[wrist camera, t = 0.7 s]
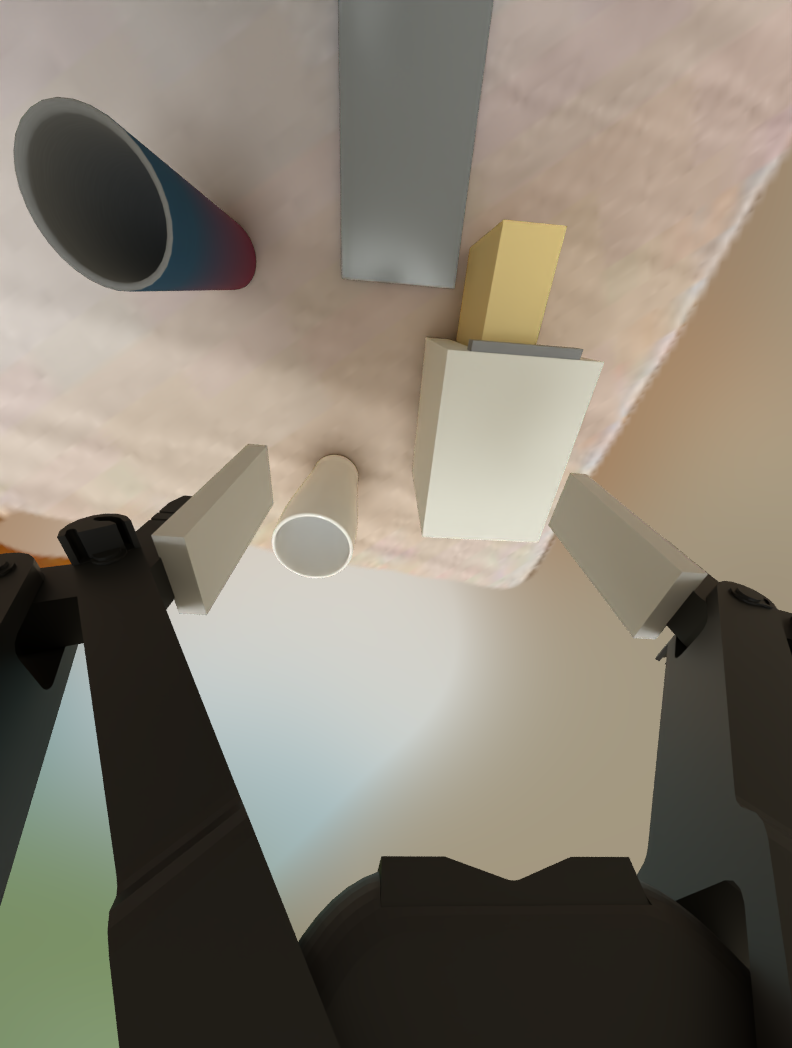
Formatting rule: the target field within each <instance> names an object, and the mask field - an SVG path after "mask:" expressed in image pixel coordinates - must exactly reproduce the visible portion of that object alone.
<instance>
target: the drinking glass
mask: <svg viewBox="0 0 792 1048" xmlns="http://www.w3.org/2000/svg"><path fill="white" fill-rule="evenodd" d="M357 485H358V472H357V469H356V467H355V465H354V464H353V463H352V462H351V461H350V460H349V459H347V458H345V457H343V456H340V455H328V456H325V457H323V458H322V459H320V460H319V461H318V462H317V463H316V465H315V467H314V469H313V470H312V472H311V473H310V475H309V476H308V477H307V478H306V480H305V481H304V482H303V484H302V485H301V486H300V488H299V489H298V490H297V491H296V493H295V494H294V495H293V497H292V498H291V499H290V501H289V502H288V504H287V505H286V507H285V509H284V510H283V512H282V514H281V516H280V518H279V520H278V522H277V525H276V527H275V530H274V532H273V535H272V549H273V552H274V554H275V556H276V558H277V559H278V561H279V562H280V563H281V564H282V565H283V566H284V567H285V568H287V569H288V570H290V571H291V572H293V573H295V574H297V575H300V576H303V577H308V578H325V577H330V576H333V575H335V574H337V573H339V572H341V571H342V570H343V569H344V568H345V567H346V566H347V565H348V564H349V562H350V560H351V558H352V554H353V550H354V546H355V541H356V535H357V525H358V503H357Z"/></svg>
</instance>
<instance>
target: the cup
mask: <svg viewBox="0 0 792 1048" xmlns="http://www.w3.org/2000/svg"><path fill="white" fill-rule="evenodd" d="M14 164H15V172H16V176H17V180H18V184H19V188H20V191H21V194H22V196H23V199H24V201H25V204H26V207H27V209H28V211H29V212H30V214H31V216H32V218H33V220H34V222H35V224H36V225H37V227H38V228H39V230H40V231H41V233H42V234H43V236H44V237H45V239H46V240H47V241H48V243H49V244H50V245H51V246H52V247H53V248H54V250H55V251H56V252H57V253H58V254H59V255H60V256H61V257H62V258H63V259H64V260H65V261H66V262H67V263H68V264H69V265H70V266H72V267H73V268H74V269H75V270H76V271H78V272H79V273H81V274H82V275H84V276H85V277H87V278H88V279H89V280H91V281H94V282H96V283H98V284H100V285H102V286H104V287H107V288H111V289H114V290H118V291H130V292H131V291H190V290H236V289H241V288H243V287H245V286H246V285H247V284H249V282H250V281H251V280H252V278H253V276H254V273H255V268H256V256H255V251H254V247H253V245H252V242H251V240H250V238H249V236H248V235H247V233H246V232H245V231H244V229H243V228H242V227H241V226H240V225H239V224H238V223H236V222H235V221H234V220H233V219H232V218H230V217H229V216H228V215H227V214H226V213H224V212H223V211H222V210H221V209H220V208H218V207H217V206H216V205H215V204H214V203H212V202H211V201H210V200H209V199H208V198H206V197H205V196H204V195H203V194H202V193H200V192H199V191H198V190H197V189H196V188H194V187H193V186H192V185H191V184H190V183H188V182H187V181H186V180H185V179H184V178H182V177H181V176H180V175H179V174H178V173H176V172H175V171H174V170H173V169H172V168H170V167H169V166H168V165H167V164H166V163H164V162H163V161H162V160H161V159H160V158H158V157H157V156H156V155H155V154H154V153H152V152H151V151H150V150H149V149H148V148H146V147H145V146H144V145H143V144H142V143H140V142H139V141H138V140H137V139H136V138H134V137H133V136H132V135H131V134H130V133H128V132H127V131H126V130H125V129H124V128H122V127H121V126H120V125H119V124H117V123H116V122H115V121H114V120H113V119H111V118H110V117H109V116H108V115H106V114H104V113H103V112H101V111H100V110H98V109H96V108H95V107H93V106H91V105H89V104H86V103H83V102H81V101H78V100H75V99H70V98H61V97H55V98H50V99H44V100H41V101H40V102H38V103H36V104H35V105H33V106H31V107H30V108H29V109H28V111H27V112H26V113H25V114H24V116H23V117H22V118H21V120H20V123H19V126H18V128H17V131H16V134H15V142H14Z"/></svg>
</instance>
